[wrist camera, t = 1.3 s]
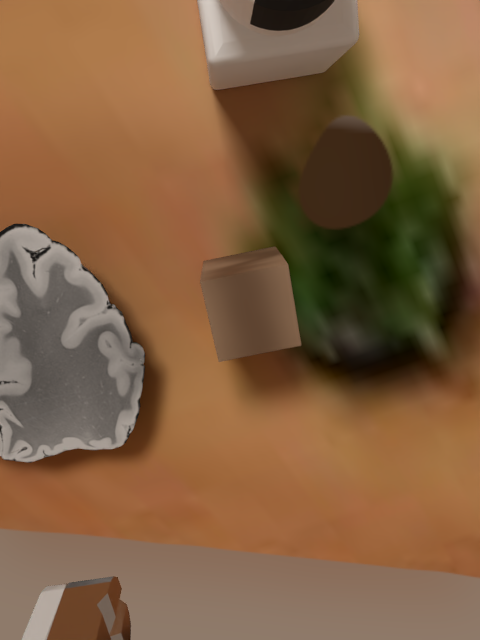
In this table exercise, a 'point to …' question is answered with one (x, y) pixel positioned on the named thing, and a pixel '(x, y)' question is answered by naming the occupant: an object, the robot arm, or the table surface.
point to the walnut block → (250, 303)
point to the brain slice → (61, 353)
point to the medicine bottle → (274, 38)
